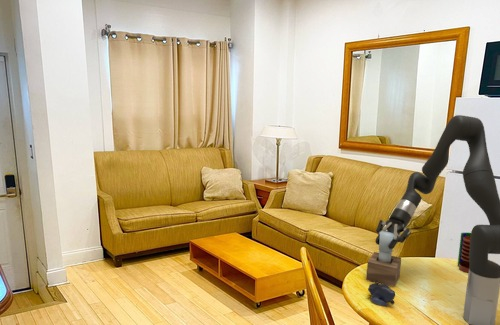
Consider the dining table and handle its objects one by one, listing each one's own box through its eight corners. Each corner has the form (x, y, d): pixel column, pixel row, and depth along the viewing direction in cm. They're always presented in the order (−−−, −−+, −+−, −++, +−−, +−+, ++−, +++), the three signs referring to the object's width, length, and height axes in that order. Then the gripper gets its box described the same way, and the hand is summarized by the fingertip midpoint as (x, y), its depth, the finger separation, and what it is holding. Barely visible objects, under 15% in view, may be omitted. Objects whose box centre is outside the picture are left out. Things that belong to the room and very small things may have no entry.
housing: (394, 287, 151) (396, 268, 149) (366, 280, 156) (367, 261, 155) (399, 275, 161) (401, 257, 160) (372, 269, 166) (374, 251, 165)
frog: (376, 291, 147) (378, 274, 146) (401, 304, 138) (403, 285, 137) (360, 297, 142) (362, 279, 141) (385, 310, 133) (387, 291, 132)
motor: (452, 267, 172) (457, 224, 168) (465, 264, 175) (471, 222, 172) (473, 276, 163) (479, 231, 159) (487, 273, 166) (493, 229, 163)
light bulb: (389, 270, 154) (392, 236, 152) (375, 266, 157) (378, 234, 154) (392, 265, 159) (395, 233, 156) (378, 262, 161) (381, 230, 159)
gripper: (384, 203, 164) (365, 235, 159) (416, 212, 152) (395, 246, 147) (391, 213, 168) (371, 245, 163) (422, 222, 156) (402, 256, 151)
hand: (383, 245), depth 155 cm, fingers closed on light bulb, 5 cm apart
